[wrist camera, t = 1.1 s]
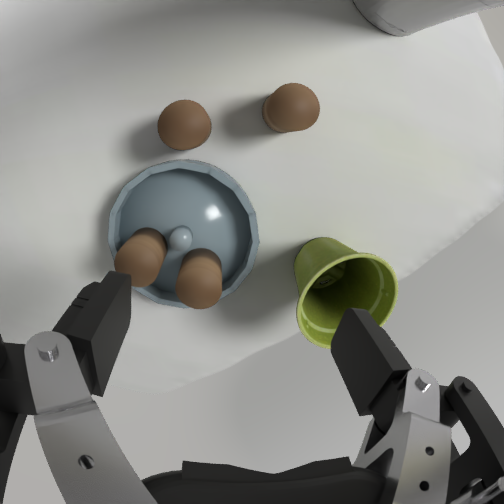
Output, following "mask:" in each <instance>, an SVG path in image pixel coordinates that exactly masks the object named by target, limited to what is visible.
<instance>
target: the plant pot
mask: <svg viewBox="0 0 504 504" xmlns="http://www.w3.org/2000/svg"><path fill="white" fill-rule="evenodd" d="M340 262H342V263H340ZM294 272H295V277H296V281H297V286H298V291H299V296H300V297H299V299H298V303H297V310H296V316H297V322H298V326H299V328H300V330H301V332H302V334H303V335H304V336H305V337H306V338H307V340H309V341H310V342H311V343H313V344H315V345H317V346H319V347H322V348H327V349H331V341H332V338H333V336H334V334H335V331H336V329H337V327H338V325H339V323H340V321H341V318H342V316H343V314H344V312H345V310H346V309H348V308H356V309H365V310H367V311H368V312H369V313H370V315H371V316H372V317H373V319H374V320H375V321H376V323H377V324H378V325H379V326H380V327H382V326H383V325H384V323H385V322H386V321H387V319H388V318H389V316H390V315H391V313H392V311H393V309H394V306H395V304H396V300H397V296H398V281H397V277H396V274H395V272H394V270H393V269H392V267H391V266H390V265H389V264H388V263H387V262H386V261H385V260H383V259H382V258H380V257H378V256H376V255H373V254H369V253H358V252H356V251H354V250H353V249H351V248H349V247H347V246H346V245H344V244H342V243H340V242H339V241H337V240H335V239H332V238H327V237H323V238H317V239H314V240H312V241H310V242H308V243H307V244H305V245H304V246H303V247H302V249H301V251H300V252H299V254H298V255H297V257H296V259H295V262H294ZM329 279H331V280H330V281H329V282H327V283H325V284H320V282H323V281H327V280H329Z"/></svg>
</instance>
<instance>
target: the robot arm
mask: <svg viewBox="0 0 504 504" xmlns="http://www.w3.org/2000/svg"><path fill="white" fill-rule="evenodd" d="M353 1H354V3H355V5H356V7H357V8H358V10H359V11H360V12H361V13H362V15H363V16H364V17H365V18H366V19H367V20H368V21H370V22H371V23H372V24H373V25H375V26H376V27H378V28H379V29H381V30H382V31H385V32H387V33H389V34H392V35H396V36H407V35H410V34H412V33H415V32H417V31H420V30H423V29H425V28H428V27H431V26H434V25H436V24H439V23H442V22H445V21H448V20H451V19H454V18H457V17H461V16H464V15H467V14H471V13H475V12H478V11H482V10H486V9H490V8H495V7H498V6H503V5H504V0H353ZM130 319H131V275H130V274H125V273H120V272H115V271H109V272H108V274H107V275H106V276H105V278H104V279H103V280H102V282H101V283H99V282H93V283H91V284H89V285H87V286H86V287H84V288H83V289H82V290H81V292H80V293H79V294H78V295H77V298H75V299H74V301H73V302H72V303H71V306H69V307H68V309H67V310H66V312H65V313H64V314H63V316H62V317H61V318H60V320H59V321H58V323H57V324H56V326H55V327H54V328H53V330H52V331H44V332H40V333H38V334H35V335H34V336H32V337H31V338H30V339H29V340H28V341H27V343H26V344H15V343H5V342H3V340H2V337H1V334H0V504H2V503H3V498H4V493H5V487H6V483H7V479H8V475H9V471H10V467H11V463H12V460H13V456H14V453H15V449H16V446H17V443H18V440H19V437H20V434H21V431H22V428H23V425H24V423H25V420H26V417H27V415H34V422H35V426H36V430H37V433H38V436H39V439H40V442H41V445H42V448H43V451H44V454H45V456H46V459H47V462H48V464H49V467H50V469H51V472H52V474H53V476H54V479H55V481H56V483H57V485H58V487H59V489H60V492H61V494H62V496H63V498H64V500H65V502H66V504H504V428H503V426H502V424H501V423H500V421H499V420H498V418H497V417H496V415H495V414H494V412H493V410H492V409H491V407H490V406H489V404H488V403H487V401H486V400H485V399H484V397H483V396H482V394H481V393H480V391H479V390H478V389H477V387H476V386H475V385H474V384H473V382H471V381H470V380H469V379H467V378H465V377H461V376H458V377H456V378H455V379H454V380H453V381H452V383H451V384H450V385H449V386H441V385H439V384H438V382H437V381H436V379H435V378H434V377H433V376H432V375H431V374H430V373H428V372H426V371H424V370H422V369H412V368H411V367H410V365H409V364H408V362H407V361H406V360H405V358H404V357H403V355H402V353H401V352H400V351H399V349H398V348H397V347H395V344H394V342H393V341H392V340H390V339H391V338H390V337H389V336H388V334H387V333H386V331H385V330H384V329H383V328H381V327H380V326H379V325H378V324H377V323H376V321H375V320H374V319H373V317H372V316H371V315H370V313H369V312H368V311H367V310H365V309H356V308H348V309H346V310H345V312H344V314H343V316H342V318H341V321H340V323H339V325H338V327H337V329H336V331H335V334H334V336H333V338H332V341H331V353H332V356H333V358H334V360H335V363H336V365H337V367H338V369H339V371H340V373H341V376H342V378H343V380H344V382H345V384H346V386H347V389H348V391H349V393H350V396H351V398H352V400H353V402H354V404H355V407H356V409H357V411H358V414H359V416H365V415H371V414H372V415H373V417H374V418H373V419H372V420H371V421H370V423H369V425H368V428H367V431H366V434H365V437H364V440H363V443H362V446H361V448H360V451H359V454H358V456H357V459H356V461H355V462H354V464H353V465H351V462H350V459H349V457H342V458H336V459H329V460H322V461H315V462H311V463H308V464H306V465H303V466H300V467H297V468H294V469H290V470H287V471H284V472H281V473H276V474H270V473H265V472H259V471H254V470H249V469H245V468H240V467H236V466H232V465H227V464H210V463H199V462H189V461H183V463H182V470H180V471H170V472H165V473H160V474H157V475H153V476H150V477H148V478H145V479H143V480H140V479H139V477H138V476H137V474H136V473H135V471H134V470H133V468H132V466H131V465H130V463H129V462H128V460H127V459H126V457H125V455H124V454H123V452H122V450H121V449H120V447H119V445H118V443H117V442H116V440H115V438H114V436H113V434H112V433H111V431H110V429H109V427H108V425H107V423H106V421H105V419H104V417H103V415H102V413H101V411H100V409H99V407H98V405H97V403H96V402H95V401H93V399H92V397H91V395H92V394H94V395H97V396H101V397H103V394H104V391H105V388H106V386H107V383H108V380H109V377H110V374H111V372H112V369H113V366H114V364H115V361H116V358H117V356H118V353H119V350H120V348H121V345H122V343H123V340H124V338H125V335H126V333H127V330H128V328H129V324H130ZM458 420H460V421H461V423H462V424H463V426H464V428H465V430H466V431H467V433H468V435H469V437H470V446H469V448H468V449H467V450H466V451H465V452H464V453H463V454H462V455H461V456H460V455H459V453H458V451H457V449H456V447H455V445H454V443H453V442H452V439H451V428H452V427H453V426H454V425H455V424H456V423H457V422H458ZM481 479H482V480H481ZM480 480H481V481H480Z"/></svg>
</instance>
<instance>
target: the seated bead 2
mask: <svg viewBox="0 0 504 504" xmlns="http://www.w3.org/2000/svg"><path fill="white" fill-rule="evenodd" d="M175 291H176V294H177V296H178V298H179V299H180V301H181V302H182V303H184V304H185V305H186V306H188V307H191V308H194V309H205V308H209V307H211V306H213V305H214V304H216V303H217V302H218V300H219V299H220V297H221V294H222V264H221V260H220V258H219V257H218V255H217V254H216V253H214V252H213V251H211V250H209V249H206V248H196V249H193V250H191V251H189V252H188V253H187V254H186V255H185V256H184V258H183V260H182V264H181V267H180V270H179V274H178V277H177V281H176V285H175Z"/></svg>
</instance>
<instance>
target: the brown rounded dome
mask: <svg viewBox="0 0 504 504" xmlns="http://www.w3.org/2000/svg"><path fill="white" fill-rule="evenodd" d="M158 133H159V136H160V138H161V140H162V141H163V142H164V143H165V144H166V145H167V146H169V147H171V148H173V149H177V150H186V149H192V148H196V147H198V146H200V145H202V144H203V143H204V142H205V141H206V140H207V139H208V137H209V135H210V133H211V121H210V118H209V116H208V114H207V112H206V111H205V109H204V108H203V107H202V106H201V105H200V104H198V103H196V102H194V101H191V100H179V101H176V102H173V103H172V104H170V105H168V106H167V107H166V108H165V109H164V110H163V112H162V113H161V115H160V117H159V120H158Z"/></svg>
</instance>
